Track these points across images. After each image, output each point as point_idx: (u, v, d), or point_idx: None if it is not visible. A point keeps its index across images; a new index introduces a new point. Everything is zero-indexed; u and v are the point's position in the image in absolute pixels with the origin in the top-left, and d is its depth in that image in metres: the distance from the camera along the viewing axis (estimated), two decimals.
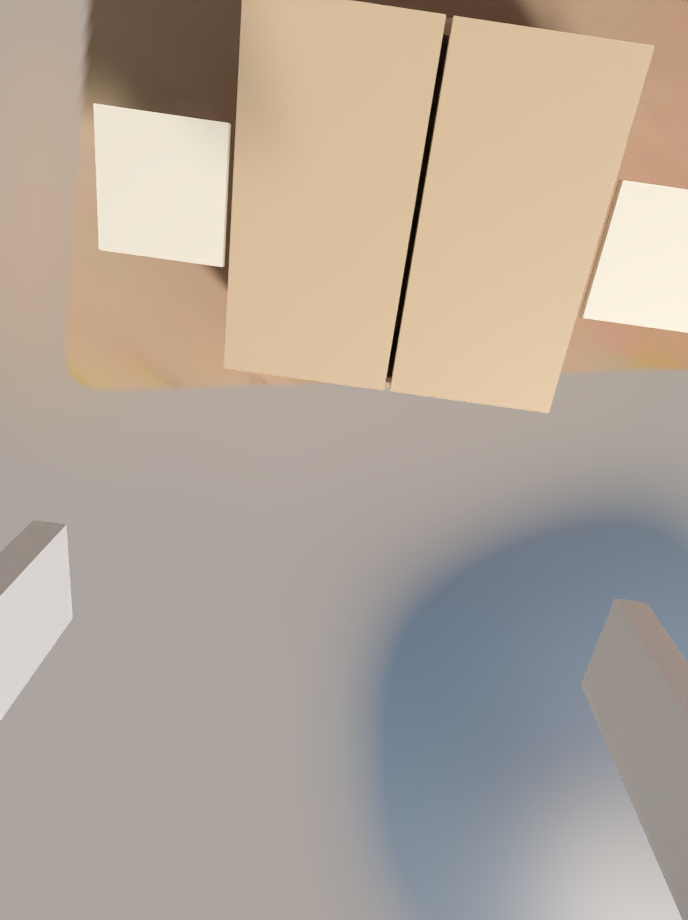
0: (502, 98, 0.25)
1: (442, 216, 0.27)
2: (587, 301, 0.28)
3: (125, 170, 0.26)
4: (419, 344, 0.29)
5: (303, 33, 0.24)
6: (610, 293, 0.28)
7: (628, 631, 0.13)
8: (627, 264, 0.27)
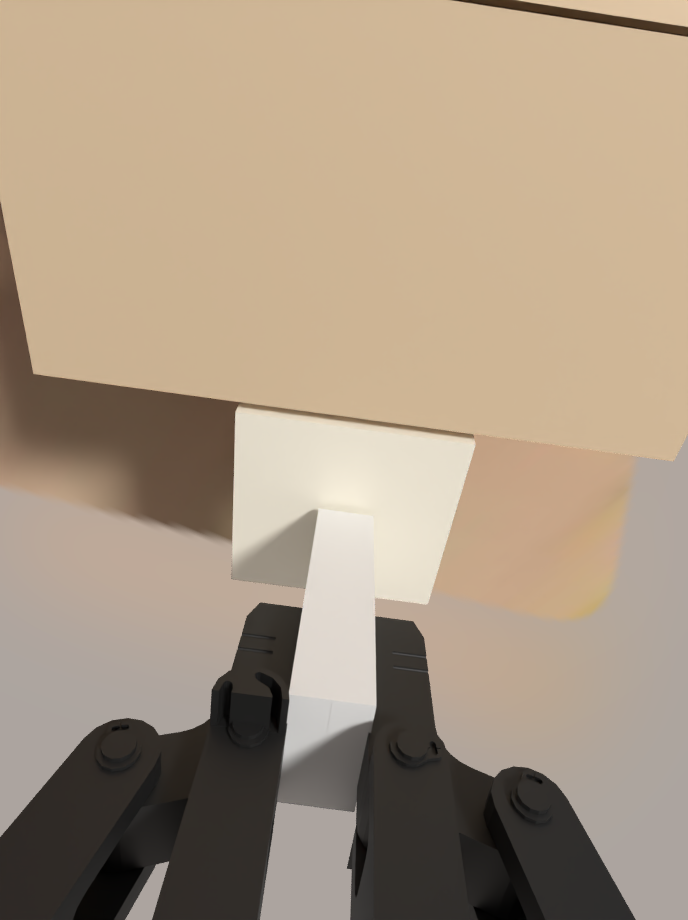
0: None
1: None
2: None
3: None
4: None
5: (74, 275, 0.13)
6: None
7: (343, 536, 0.15)
8: None
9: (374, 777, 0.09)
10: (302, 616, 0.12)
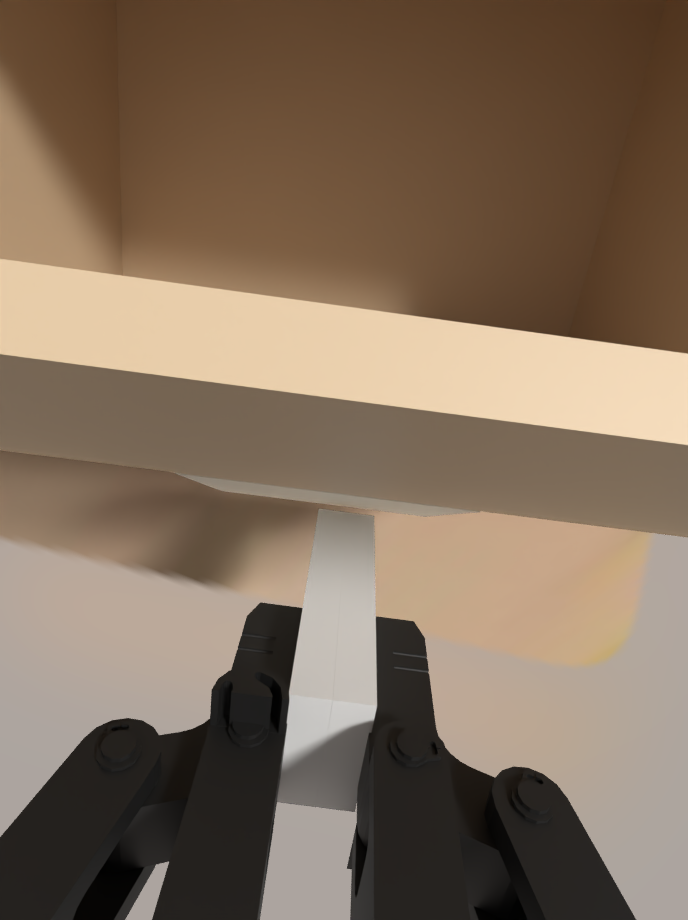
0: None
1: None
2: None
3: (304, 499, 0.16)
4: None
5: None
6: None
7: (344, 536, 0.15)
8: None
9: (374, 777, 0.09)
10: (302, 616, 0.12)
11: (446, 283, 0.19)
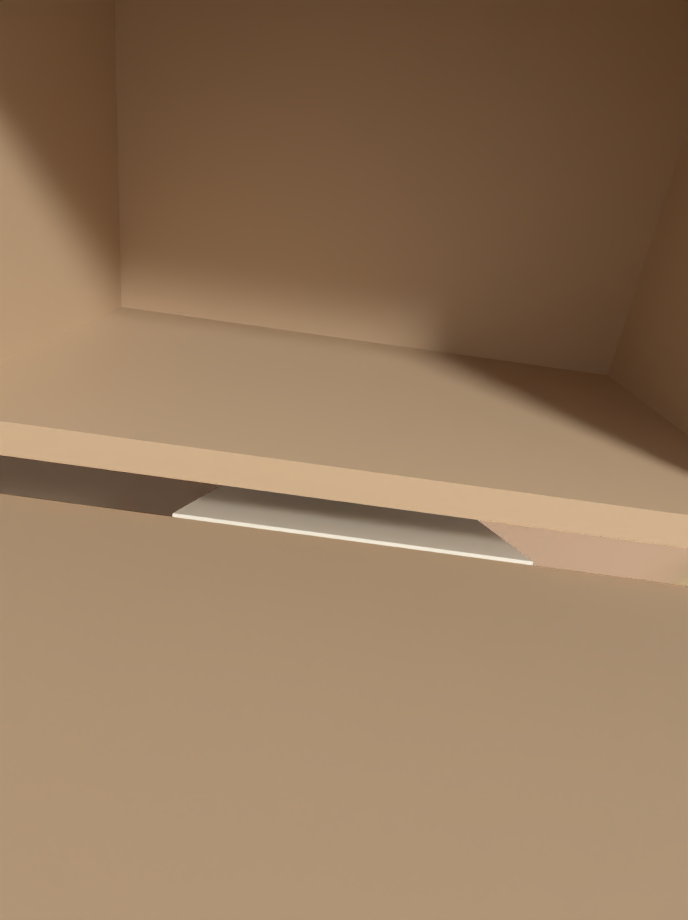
0: None
1: None
2: None
3: None
4: None
5: None
6: None
7: None
8: None
9: None
10: None
11: (476, 308, 0.17)
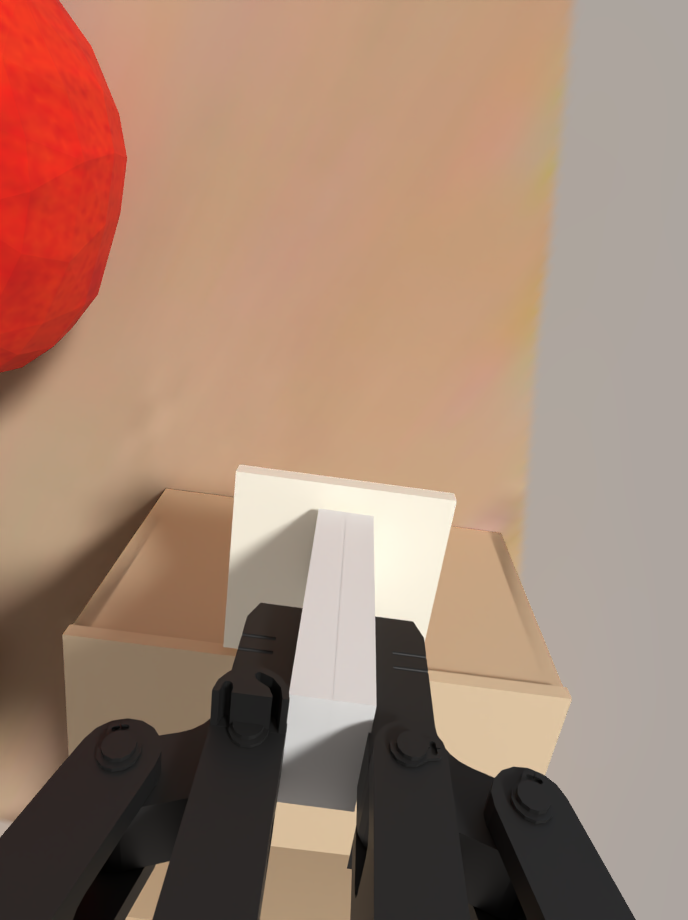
0: None
1: (280, 826, 0.21)
2: None
3: None
4: None
5: None
6: None
7: (344, 536, 0.15)
8: None
9: (374, 777, 0.09)
10: (302, 616, 0.12)
11: None
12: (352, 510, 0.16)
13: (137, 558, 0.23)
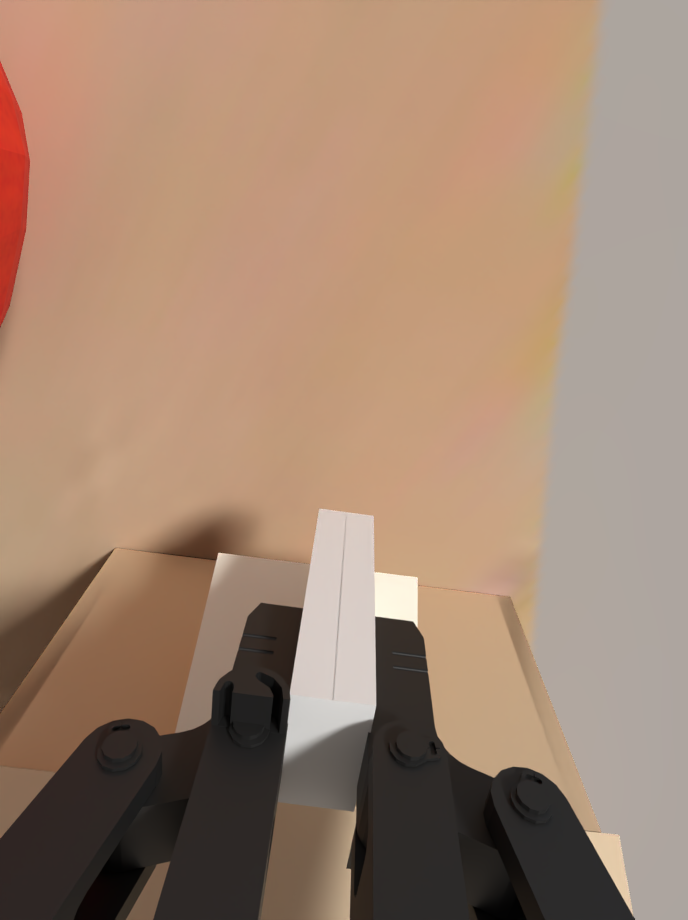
0: None
1: None
2: None
3: None
4: None
5: None
6: None
7: (343, 536, 0.15)
8: None
9: (373, 777, 0.09)
10: (303, 616, 0.12)
11: None
12: None
13: (68, 649, 0.18)
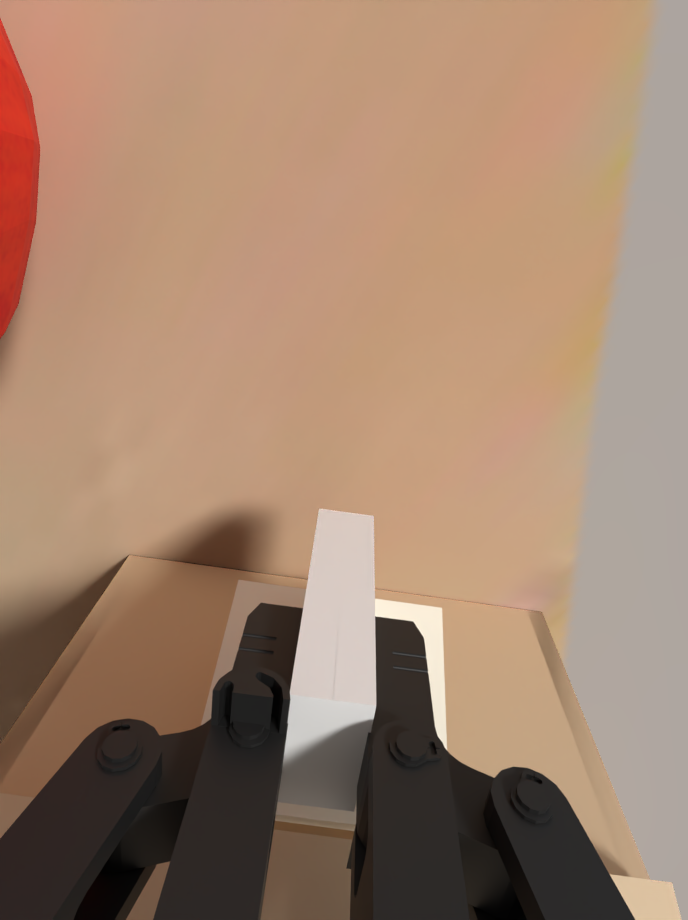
0: None
1: None
2: None
3: None
4: None
5: None
6: None
7: (343, 536, 0.15)
8: None
9: (373, 777, 0.09)
10: (303, 616, 0.12)
11: None
12: None
13: (78, 664, 0.18)
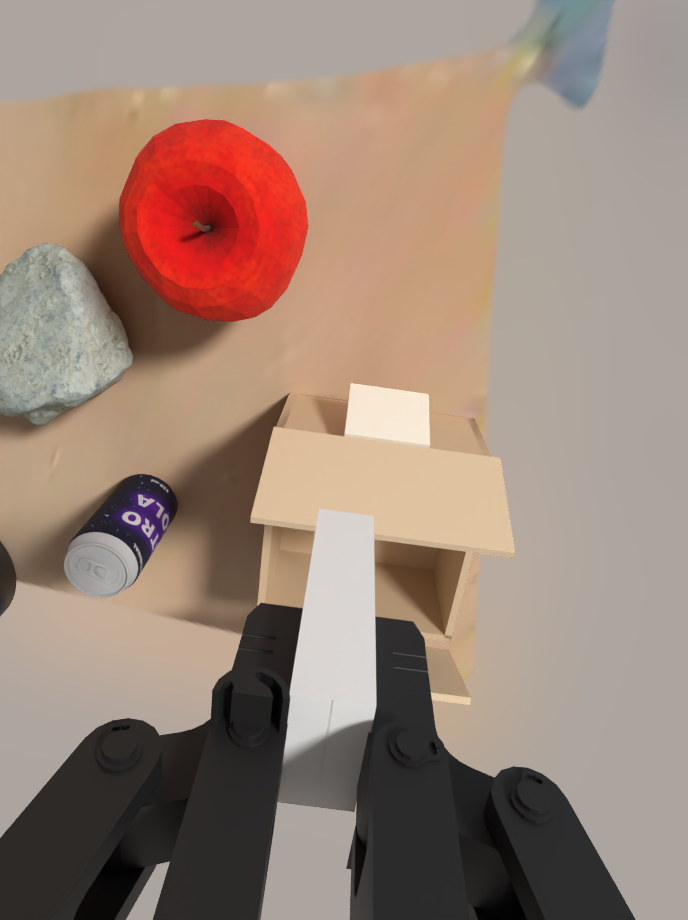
0: (299, 490, 0.37)
1: (374, 520, 0.36)
2: (419, 444, 0.41)
3: None
4: (471, 533, 0.36)
5: None
6: (412, 433, 0.42)
7: (344, 536, 0.15)
8: (393, 427, 0.42)
9: (373, 777, 0.09)
10: (303, 616, 0.12)
11: (390, 551, 0.56)
12: (392, 394, 0.45)
13: (288, 417, 0.46)
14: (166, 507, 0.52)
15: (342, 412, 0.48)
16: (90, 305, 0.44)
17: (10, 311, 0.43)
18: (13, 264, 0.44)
